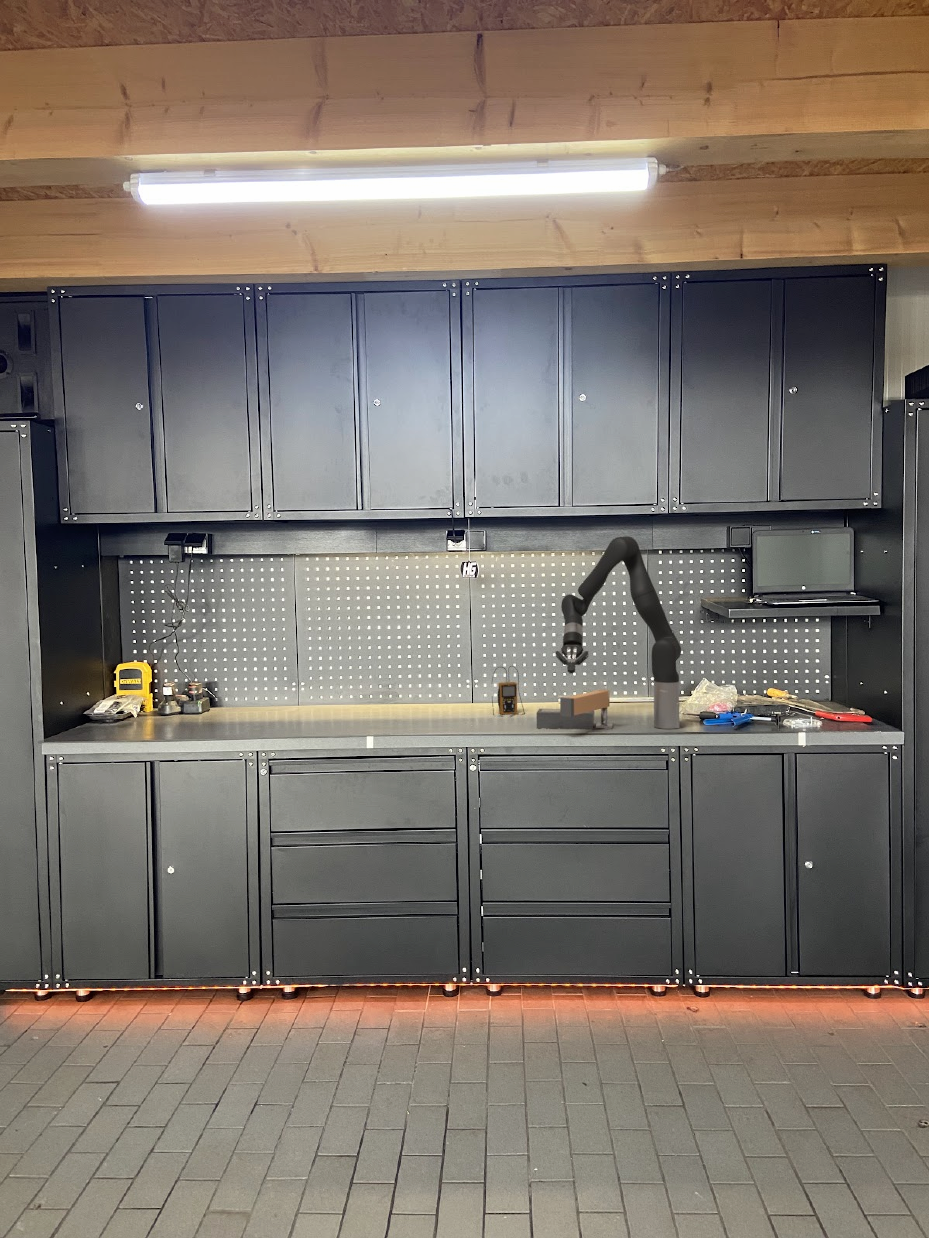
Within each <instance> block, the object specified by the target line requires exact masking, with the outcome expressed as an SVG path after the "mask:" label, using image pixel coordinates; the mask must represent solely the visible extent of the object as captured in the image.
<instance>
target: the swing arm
mask: <svg viewBox="0 0 929 1238" xmlns="http://www.w3.org/2000/svg"><path fill="white" fill-rule="evenodd" d="M610 698H611V697H610V690H609V689H597V690H594V691H589V692H585V693H581V694H575V695H571V696H566V697H564V696H563V697H560V699H559V700H560V702H559V704H560V707H559V709H560V716H566V717H573V716H574V715H578V714H582V713H586V712H590V711H594V712H595V711H597V710H601V709H602V708H606V707H607V708H609V707H610V706H611V705H610V701H611V700H610Z"/></svg>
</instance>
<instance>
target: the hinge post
mask: <svg viewBox="0 0 929 1238" xmlns="http://www.w3.org/2000/svg"><path fill="white" fill-rule="evenodd" d="M612 726H613V727H614V725H613V723H608V707H606V708H602V709H600V722H596V724H595V729H596V728H606V729H607V730H612V729H613V727H612Z"/></svg>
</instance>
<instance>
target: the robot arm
mask: <svg viewBox="0 0 929 1238" xmlns="http://www.w3.org/2000/svg"><path fill="white" fill-rule="evenodd" d="M621 562H623V564H624V566H625V567H626V570H627V572H628V577H629V589H630V590H629V591H630V597H631V599H632V602H633V604H634V607H635V610H636V611H637V613H638V615H639V616H640V617H641V619H642V620H643V621H644V623H645V624H646V626H647V627H648V629H649V630H650V631H651V633H652V636H653V638H654V641H655V642H654V644H653V645H652V648H651V672H652V676H653V727H654V728H656V729H664V730H665V729H666V730H667V729H669V730H670V729H671V730H673V729H680V675H679V672H678V671H677V661H678V659H679V658H680V657H681V656H682V647H681V644H680V643H679V639H677V637H676V635H675V633H674V632H673V630H672V628H671V626H670V624H669V621H668V619H667V616H666V613H665V611H664V608H663V605H662V604H661V601H660V598H659V595H658V593H657V591H656V588H655V587H654V584H653V582H652V579H651V577H650V575H649V572H648V570H647V568H646V565H645V563H644V562H645V561H644V560H643V556H642V553H641V549H640V547H639V543H638V542H637V540H636V539H635V538H634V537H631V536H627V535H626V536H617V537H615V538H613V539H612V540H611V541H610V543H609V544H608V546H607V547H606V549H605V551H604V553H603V554H602V556H601V557H600V559H599V561H598V563H597V564H596V565H595V567H594V568H593V569H592V570H591V571H590V573H589V574H588V576H586V578H585V579H584V580H583V581H582V583H581V584H580V585H579V586H578V588H577V593H578V595H579V596H580V597H581V598H582V599H581V598H579V597H578V596H575V595H573V594H569V593H568V594H566V595H565V596H563V598H562V600H561V604H560V605H561V611H562V616H563V619H564V627H563V633H562V634H563V636H562V647H561V649H560V650H556V651H555V658H557V659H558V660H559V662H560V663H562V664H563V665H564V666H567V672H568V673H569V674H574V673H575V672H576V666H577V665H578V666H581V664H582V663H584V661H585V660H586V659H588V658H589V650H584V647H583V639H584V631H583V624H584V621H583V616H585V615H586V614H587V612H588V610H589V608H590V605H591V603H592V601H593V599H594V597H595V596H596V595H597V594H598V593H599V592H600V590H601V589H602V588H603V587H604V585H605V583H606V582H607V579H608V577H609V575H610V573H611V572H612V570H614V568H615V567H616V566H617V565H619V564H620V563H621Z"/></svg>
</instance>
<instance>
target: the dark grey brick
mask: <svg viewBox="0 0 929 1238" xmlns="http://www.w3.org/2000/svg"><path fill="white" fill-rule="evenodd" d="M593 727H595V710H594V711H590V712H586V713H582V714H578V715H574V716H573V717H566V716H560V708H539V709H538V710H537V711H536V729H542V728H546V729H548V728H549V730H550V729H552V730H594V728H593ZM556 728H557V729H556ZM558 728H560V729H558ZM542 730H543V729H542Z"/></svg>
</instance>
